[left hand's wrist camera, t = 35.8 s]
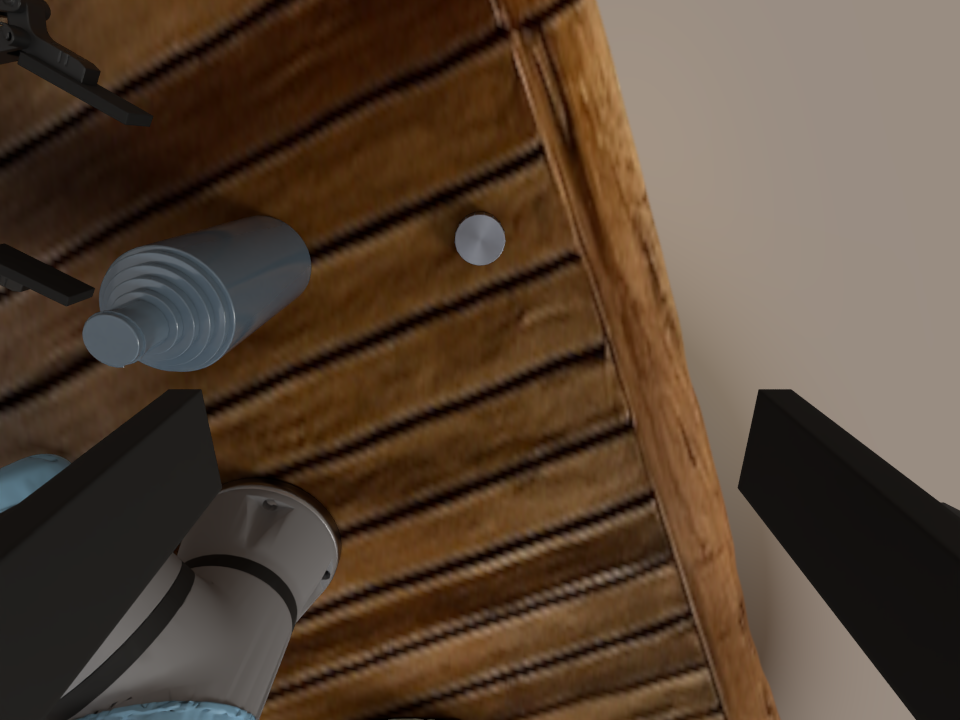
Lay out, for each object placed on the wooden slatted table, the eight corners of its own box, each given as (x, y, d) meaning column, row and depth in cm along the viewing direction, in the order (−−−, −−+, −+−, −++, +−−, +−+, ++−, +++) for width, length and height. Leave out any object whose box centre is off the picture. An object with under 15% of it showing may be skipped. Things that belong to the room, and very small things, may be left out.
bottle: (212, 215, 43) (6, 263, 24) (305, 215, 43) (171, 262, 24) (229, 305, 45) (55, 411, 27) (316, 305, 45) (203, 410, 27)
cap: (469, 269, 44) (469, 274, 42) (446, 226, 43) (444, 229, 41) (512, 247, 44) (514, 251, 42) (490, 202, 42) (490, 204, 40)
